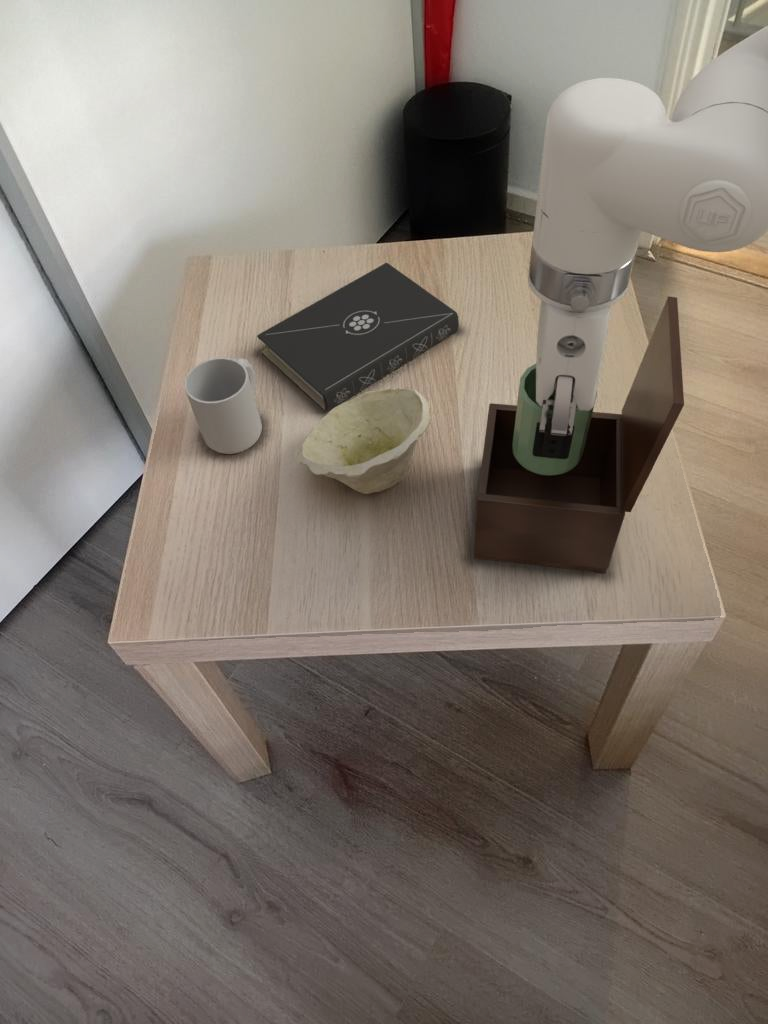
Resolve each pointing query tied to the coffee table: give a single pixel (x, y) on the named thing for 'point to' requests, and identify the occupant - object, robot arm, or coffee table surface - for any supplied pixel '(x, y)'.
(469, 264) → the coffee table surface
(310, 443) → the bowl
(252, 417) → the cup
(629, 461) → the lid
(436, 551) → the coffee table surface
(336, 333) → the book
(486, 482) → the chest
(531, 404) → the green cup
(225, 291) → the coffee table surface
